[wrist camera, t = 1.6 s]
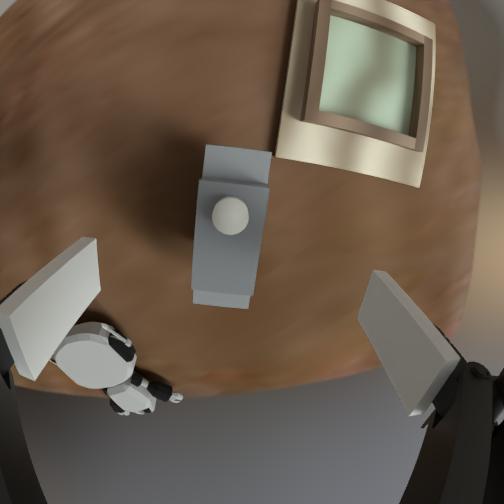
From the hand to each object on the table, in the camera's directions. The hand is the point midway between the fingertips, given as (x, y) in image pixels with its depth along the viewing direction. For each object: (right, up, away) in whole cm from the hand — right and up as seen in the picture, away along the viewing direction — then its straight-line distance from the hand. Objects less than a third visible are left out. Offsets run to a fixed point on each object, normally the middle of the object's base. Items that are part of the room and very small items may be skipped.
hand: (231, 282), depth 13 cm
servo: (-1, +5, +12) cm, 13 cm away
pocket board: (+11, +17, +8) cm, 21 cm away
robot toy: (-16, -12, +18) cm, 27 cm away
